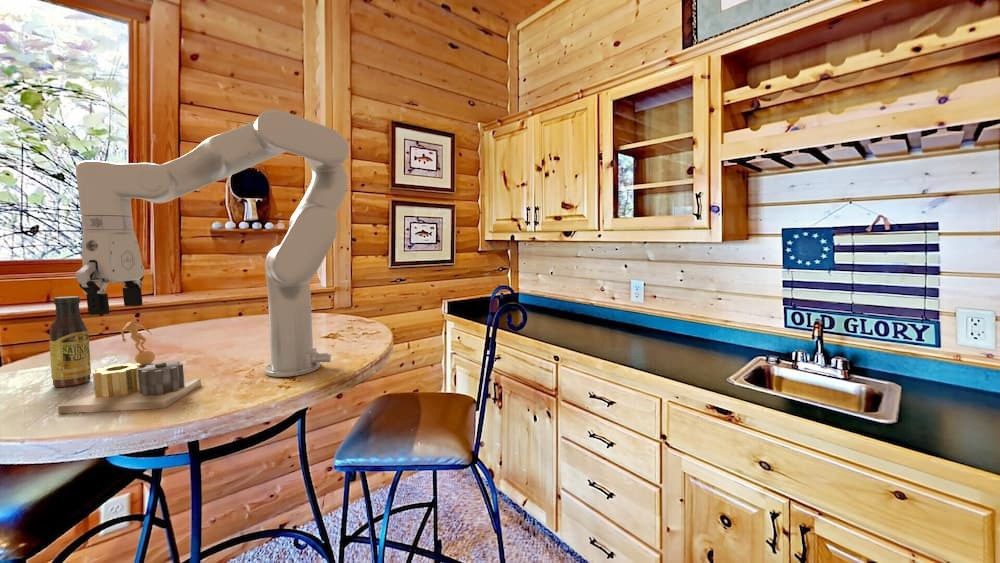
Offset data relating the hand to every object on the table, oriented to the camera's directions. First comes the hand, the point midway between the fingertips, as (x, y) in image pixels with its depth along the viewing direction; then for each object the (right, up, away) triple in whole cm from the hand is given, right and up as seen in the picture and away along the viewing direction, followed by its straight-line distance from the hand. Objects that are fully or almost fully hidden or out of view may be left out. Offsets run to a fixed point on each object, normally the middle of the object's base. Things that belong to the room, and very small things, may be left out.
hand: (117, 309), depth 85 cm
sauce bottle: (-19, -18, +10) cm, 28 cm away
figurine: (-15, -16, +23) cm, 32 cm away
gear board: (+3, -18, +1) cm, 19 cm away
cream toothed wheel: (0, -17, +1) cm, 17 cm away
